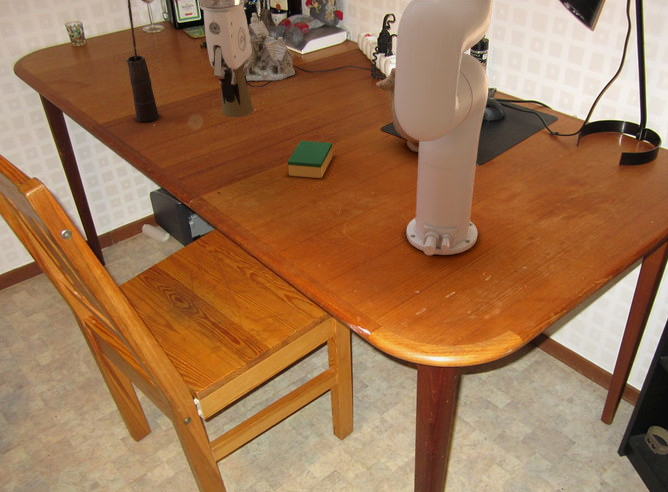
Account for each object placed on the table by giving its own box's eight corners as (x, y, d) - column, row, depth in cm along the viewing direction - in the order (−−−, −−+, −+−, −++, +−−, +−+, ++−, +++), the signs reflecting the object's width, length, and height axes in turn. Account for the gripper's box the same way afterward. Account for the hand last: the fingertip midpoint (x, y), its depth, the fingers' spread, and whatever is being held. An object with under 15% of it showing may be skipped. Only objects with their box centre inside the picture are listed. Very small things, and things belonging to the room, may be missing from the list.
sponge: (321, 178, 133) (320, 164, 131) (288, 175, 134) (287, 161, 132) (332, 156, 140) (332, 142, 138) (301, 154, 141) (300, 140, 139)
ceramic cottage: (221, 72, 180) (216, 16, 171) (269, 61, 189) (267, 7, 179) (253, 91, 172) (250, 33, 162) (302, 78, 181) (302, 22, 171)
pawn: (215, 114, 124) (205, 55, 117) (234, 103, 128) (225, 46, 121) (241, 119, 121) (232, 60, 114) (259, 108, 125) (252, 50, 119)
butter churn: (135, 131, 151) (103, 4, 134) (118, 119, 157) (85, -5, 139) (171, 121, 156) (144, -4, 138) (154, 109, 161) (126, -12, 144)
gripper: (224, 10, 105) (240, 118, 116) (256, -14, 118) (268, 85, 129) (181, 9, 106) (201, 116, 118) (217, -15, 119) (232, 83, 130)
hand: (236, 99), depth 123 cm, fingers closed on pawn, 3 cm apart
